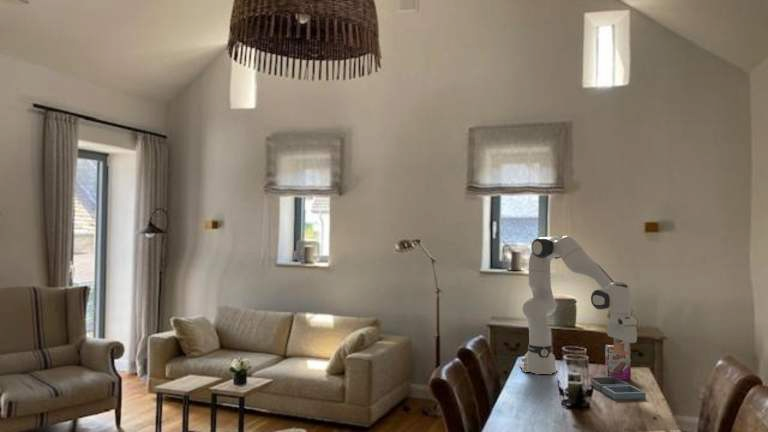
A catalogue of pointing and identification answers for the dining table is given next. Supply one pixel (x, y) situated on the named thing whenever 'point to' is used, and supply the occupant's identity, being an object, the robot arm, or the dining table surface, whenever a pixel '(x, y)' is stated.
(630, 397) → the slate tray
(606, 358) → the candy bar box
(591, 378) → the charcoal bin
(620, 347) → the terracotta block
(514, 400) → the dining table surface
